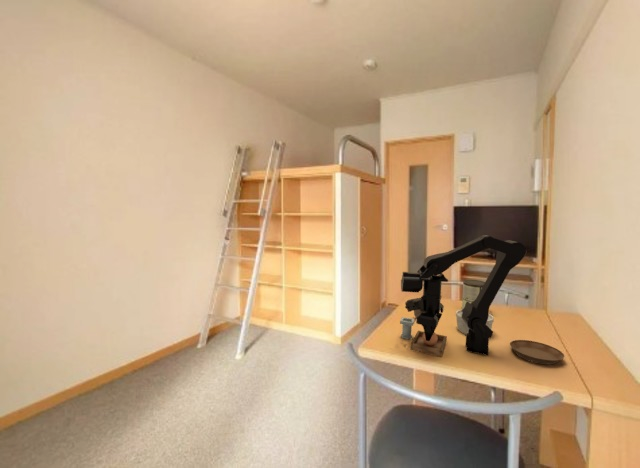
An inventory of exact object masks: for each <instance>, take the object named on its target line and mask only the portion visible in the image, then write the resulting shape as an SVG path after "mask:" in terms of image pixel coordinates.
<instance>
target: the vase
mask: <svg viewBox="0 0 640 468" xmlns="http://www.w3.org/2000/svg"><path fill="white" fill-rule="evenodd" d="M420 313H421V311H420V309H419V310H413V314H414V317H415V319H417V316H418V315H419V314H420ZM422 313H424V312H422Z"/></svg>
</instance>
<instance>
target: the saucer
mask: <svg viewBox="0 0 640 468" xmlns="http://www.w3.org/2000/svg"><path fill="white" fill-rule="evenodd" d="M509 346H510V348H511V349H512V350H513V352H514V353H515V354H516V355H517V356H518V357H521V358H522V359H524V360H526V361H528V360H529V362H531V361H532V362H531V363H536V364H539V363H540V364H541V365H542V364H543V365H553V364H557V363H559V362H561V361H562V360H563V359H564V358H565V355H564V353H563V352H562V351H561V350H559V349H558V348H557V347H554V346H551V345H548V344H546V343H543V342H539V341H534V340H528V339H527V340H525V339H517V340H516V339H515V340H512V341H511V342H510V343H509Z"/></svg>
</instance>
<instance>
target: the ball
mask: <svg viewBox="0 0 640 468" xmlns="http://www.w3.org/2000/svg"><path fill="white" fill-rule="evenodd" d="M436 334H437V333H436V332H435V331H434V333H433V335H432V337H431V339H430V341H427V340H426V337H425V333H424V334H423V341H424V343H425V344H427V345H429V346H433V345H435V344H436V343H437V341H438V337H437V335H436Z"/></svg>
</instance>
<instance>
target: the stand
mask: <svg viewBox="0 0 640 468" xmlns="http://www.w3.org/2000/svg"><path fill="white" fill-rule="evenodd" d="M415 319H416V318H410V317H403V316H402V317H401V319H400V320H399V324H400V325H402V330H401V331H402V332H401V334H400V337H401V338H402V339H404V340H413V335H412V328H413V326H414V324H415V321H416V320H415Z"/></svg>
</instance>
